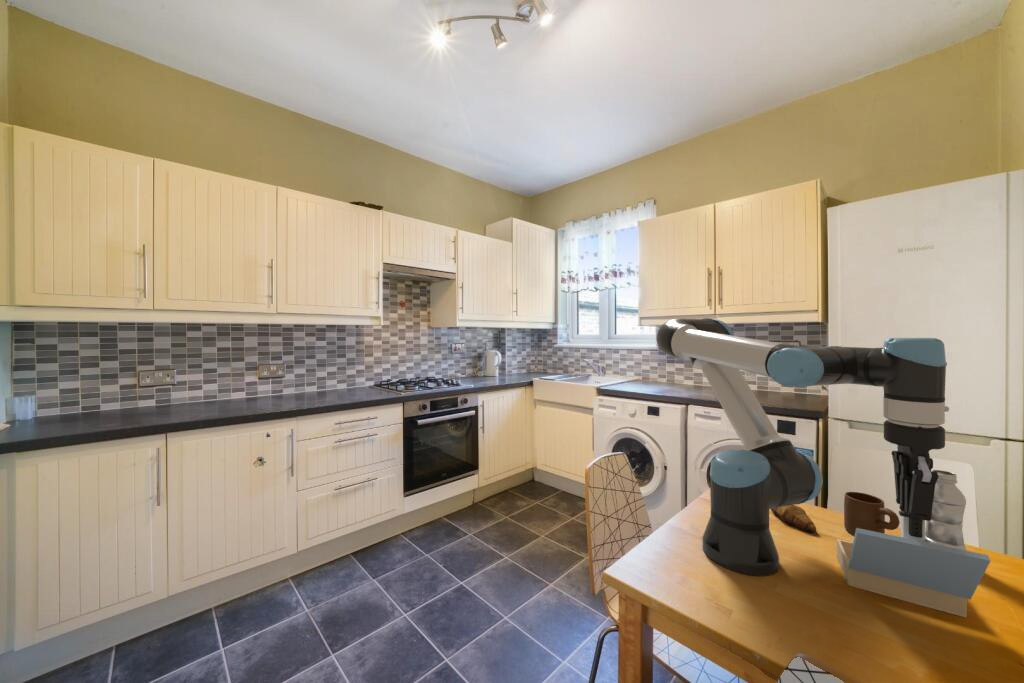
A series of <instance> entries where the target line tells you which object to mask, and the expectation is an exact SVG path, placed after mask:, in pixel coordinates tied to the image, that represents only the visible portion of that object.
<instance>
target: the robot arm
mask: <svg viewBox="0 0 1024 683" xmlns="http://www.w3.org/2000/svg"><path fill="white" fill-rule="evenodd" d="M656 344H657V346H658V348H659V350H660V351H661V352H662V353H664V354H665V355H667V356H670V357H674V358H678V359H682V360H685V359H689V360H690V361H691V363H692V365H693V367H694V368H695V369H698V370H701V371H702V372H703V374H704V377H706V380H707V381H708V384H709V385H710V387H711V389H712V391H713V393H714V394H715V396H716V398H717V400H718V402H719V404H720V405H721V407H722V410H723V411H724V413H725V415H726V417H727V418H728V420H729V423H730V424H731V426H732V428H733V430H734V432H735V434H736V435H737V437H738V440H739V441H740V443H741V445H742V446H743V449H738V450H735V449H728V450H727V449H726V450H722V451H720V452H717V453H715V454H714V455H713V456H712V458H711V461H710V470H709V478H710V479H709V480H710V481H709V483H710V484H709V485H710V487H709V489H710V492H709V495H710V517H709V519H708V521H707V522H708V523H707V525H706V526H705V529H704V533H703V535H702V551H703V552H704V553H705V555H706V556H707V557H708V558H709V559H710V560H711V561H713V562H715V563H716V564H718V565H720V566H722V567H724V568H726V569H729V570H731V571H733V572H737V573H741V574H744V575H751V576H760V577H761V576H769V575H773V574H775V573H777V571H778V570H779V569H780V568H779V567H780V557H779V552H778V550H777V548H776V543H775V542H774V538H773V536H772V533H771V531H770V510H771V508H777V507H782V506H787V505H801V504H804V503H806V502H809V501H812V500H814V499H815V498H816V497H818V495H819V494H820V493H821V490H822V487H823V483H824V481H823V474H822V471H821V469H820V466H819V464H818V463H817V462H816V461H815V460H814V459H813V458H812V457H811V456H809V455H808V454H805V453H804V452H802V451H799V450H798V451H797V450H796V448H795V446H794V444H793V443H792V441H791V440H790V439H789V438H785V437H783V436H781V435H780V434H779V432H777V430H776V428H775V427H774V425H773V423H772V421H771V419H770V418H769V416H768V415H767V413H766V412H765V410H764V408H763V406H762V405H761V403H760V402H759V400H758V398H757V397H756V395H755V393H754V391H753V390H752V389H751V387H750V386H749V383H748V382H747V381H746V378H745V377H744V375H743V374H742V372H743V371H745V372H747V373H751V374H752V373H753V374H756V375H760V376H764V377H768V378H771V379H772V380H773V381H775V382H776V383H777V384H778V385H781V386H784V387H793V388H807V387H812V386H814V387H815V386H816V387H817V386H828V385H829V386H831V385H845V384H846V385H848V384H850V385H860V386H861V385H862V386H873V387H883V397H882V398H883V401H882V402H883V405H882V406H883V410H882V412H883V413H882V414H883V417H884V418H885V419H886V420H885V421H883V438H884V440H885V441H886V442H888V443H890V444H893V445H896V446H897V447H896V448H897V450H892V451H891V454H890V455H892V462H893V470H894V471H893V472H894V473H893V474H894V483H895V484H894V485H895V487H894V488H895V496H896V497H895V501H896V503H897V504H898V505H899V506H898V507H899V510H898V514H899V516H900V537H903V538H908V539H913V540H918V541H923V542H925V528H926V521H931V515H932V507H933V499H934V491H935V484H936V482H937V479H938V477H939V476H938V473H937V472H933V471H932V470H933V468H934V460H933V458H931V456H930V451H932V450H941V449H945V446H946V429H945V428H944V427H943V426H942V425H944V424H945V422H946V415H945V413H948V412H949V411H950V408H949V407H948V406H946V375H947V373H946V371H947V370H946V369H947V366H948V362H947V360H946V349H945V343H944V342H943V340H941V339H938V338H935V337H889V338H887V339H885V340H884V341H883V345H882V347H857V346H838V345H836V346H832V345H831V346H819V347H808V346H807V347H805V346H798V345H793V344H784V343H779V342H775V341H768V340H767V341H766V340H763V339H762V340H760V339H755V338H750V337H742V336H737V335H734V333H733V330H732V328H731V327H730V326H729V325H728V324H727V323H726V322H724V321H722V320H720V319H715V318H706V317H705V318H680V317H679V318H673V319H669V320H668V321H666V322H664V323H663V324H662V325H661V326H660V327H659V328H658V331H657V334H656ZM741 371H742V372H741Z"/></svg>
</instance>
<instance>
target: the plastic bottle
mask: <svg viewBox="0 0 1024 683" xmlns="http://www.w3.org/2000/svg"><path fill="white" fill-rule="evenodd" d="M931 471H933V472H937V473H938V476H939V477H938V479H937V482H936V484H935V491H934V499H933V507H932V515H931V521H926V520H925V542H927V543H932V544H937V545H942V546H947V547H952V548H956V549H961V550H966V551H967V548H966V544H965V541H964V532H963V524H964V523H963V521H964V514H965V509H966V505H967V498H966V496H965V495H964V494H963V492H962V491H961V490H960V489H959V488H958V487H957V485H956V484H958V480H957V478H958V477H957V474H956V473H954V472H951V471H948V470H947V471H946V470H941V469H931Z"/></svg>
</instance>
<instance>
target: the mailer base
mask: <svg viewBox="0 0 1024 683" xmlns="http://www.w3.org/2000/svg"><path fill="white" fill-rule="evenodd" d="M852 546H853V541H852V542H851V541H848V540H845V539H844V540H843V539H839V538H837V539H836V558H837V560H838V563H839V566H840V568H841V571H842V573H843V576H844V579H845V581H846V583H847V586H849V587H852V588H856V589H860V590H864V591H868V592H871V593H874V594H877V595H882V596H886V597H889V598H894V599H897V600H901V601H903V602H907V603H911V604H915V605H919V606H923V607H926V608H930V609H933V610H937V611H941V612H945V613H948V614H951V615H954V616H955V615H956V616H959V617H961V618H962V617H963V618H966V619H967V618H968V617H967V616H968V615H967V612H968V607H967V606H968V604H967V603H968V599H967V598H963V597H959V596H955V595H951V594H947V593H944V592H940V591H936V590H932V589H928V588H924V587H920V586H916V585H912V584H908V583H904V582H900V581H896V580H892V579H888V578H885V577H881V576H877V575H873V574H869V573H865V572H861V571H857V570H853V569H850V568H849V560H850V555H851V550H852Z"/></svg>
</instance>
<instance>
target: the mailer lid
mask: <svg viewBox="0 0 1024 683" xmlns="http://www.w3.org/2000/svg"><path fill="white" fill-rule="evenodd" d="M852 543H853V546H852V550H851V555H850V560H849V568H850V569H853V570H857V571H861V572H865V573H869V574H873V575H877V576H881V577H885V578H888V579H892V580H896V581H900V582H904V583H908V584H912V585H916V586H920V587H924V588H928V589H932V590H936V591H940V592H944V593H947V594H951V595H955V596H959V597H963V598H967V600H972V598H973V596H974V594H975V592H976V590H977V588H978V587H979V585H980V582H981V580H982V579H983V576H984V575H985V573H986V571H987V569H988V567H989V566H990V565H989V564H990V562H991V558H990V557H989V554H984V553H980V552H975V551H970V550H967V549H966V550H961V549H956V548H952V547H947V546H942V545H937V544H932V543H927V542H923V541H918V540H913V539H908V538H903V537H901V536H898V535H893V534H889V533H888V534H887V533H885V534H884V533H879V532H874V531H869V530H865V529H860V528H856V531H855V535H854V537H853V541H852Z"/></svg>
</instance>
